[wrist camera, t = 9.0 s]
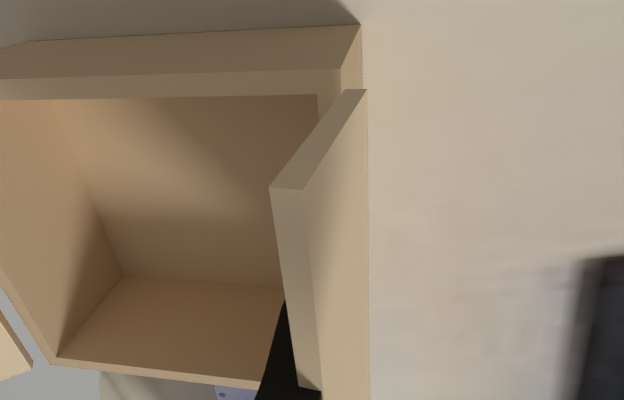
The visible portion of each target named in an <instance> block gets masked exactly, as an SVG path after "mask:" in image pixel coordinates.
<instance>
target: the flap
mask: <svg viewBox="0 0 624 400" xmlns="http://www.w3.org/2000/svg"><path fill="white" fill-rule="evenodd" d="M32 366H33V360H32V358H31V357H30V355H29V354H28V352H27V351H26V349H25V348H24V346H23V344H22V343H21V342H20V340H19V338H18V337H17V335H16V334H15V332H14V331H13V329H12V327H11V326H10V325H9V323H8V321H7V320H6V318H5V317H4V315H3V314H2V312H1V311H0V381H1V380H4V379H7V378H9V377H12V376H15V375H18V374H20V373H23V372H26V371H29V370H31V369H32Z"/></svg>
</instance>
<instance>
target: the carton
mask: <svg viewBox="0 0 624 400" xmlns="http://www.w3.org/2000/svg"><path fill="white" fill-rule="evenodd" d="M345 89H362V44H361V24H355V25H335V26H316V27H297V28H277V29H258V30H239V31H220V32H200V33H181V34H162V35H142V36H123V37H104V38H84V39H65V40H46V41H27V42H22V43H18V44H15V45H11V46H8V47H4V48H0V286H1V287H2V289H3V290H4V292H5V294H6V295H7V297H8V298H9V300H10V302H11V303H12V305H13V306H14V308H15V309H16V311H17V313H18V314H19V316H20V318H21V319H22V320H23V323H24V324H25V326H26V327H27V329H28V331H29V332H30V334H31V335H32V337H33V339H34V340H35V342H36V343H37V345H38V346H39V348H40V350H41V351H42V353H43V354H44V356H45V358H46V359H47V361H48V363H49V364H50V365H57V366H64V367H72V368H80V369H89V370H97V371H105V372H113V373H121V374H129V375H137V376H146V377H154V378H162V379H170V380H178V381H186V382H194V383H203V384H211V385H219V386H227V387H235V388H243V389H252V390H258V389H259V386H260V383H261V380H262V377H263V374H264V371H265V367H266V364H267V360H268V356H269V352H270V348H271V344H272V341H273V337H274V333H275V329H276V325H277V322H278V318H279V314H280V311H281V307H282V305H283V303H284V300H285V292H284V286H283V279H282V273H281V266H280V259H279V253H278V246H277V239H276V233H275V226H274V219H273V213H272V206H271V200H270V193H269V186H270V185H271V184H272V182H273V181H274V180H275V178H276V177H277V176H278V175H279V173H280V172H281V171H282V169H283V168H284V167H285V166H286V164H287V163H288V162H289V160H290V159H291V158H292V157H293V155H294V154H295V153H296V151H297V150H298V149H299V148H300V146H301V145H302V144H303V142H304V141H305V140H306V139H307V137H308V136H309V135H310V133H311V132H312V131H313V130H314V128H315V127H316V126H317V125H318V123H319V122H320V121H321V119H322V118H323V117H324V116H325V114H326V113H327V112H328V110H329V109H330V108H331V107H332V105H333V104H334V103H335V101H336V100H337V99H338V98H339V96H340V95H341V94H342V92H343V91H344V90H345Z"/></svg>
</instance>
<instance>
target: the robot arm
mask: <svg viewBox="0 0 624 400" xmlns="http://www.w3.org/2000/svg"><path fill="white" fill-rule="evenodd" d="M214 390H215V393H216V396H217V399H218V400H322V392H321V391H317V390H313V389H308V388H304V387H300V386H299V385H298V379H297V372H296V365H295V359H294V352H293V345H292V339H291V332H290V326H289V319H288V312H287V306H286V299H285V300H284V303H283V305H282V307H281V311H280V314H279V318H278V322H277V325H276V329H275V333H274V337H273V341H272V344H271V348H270V352H269V356H268V360H267V364H266V367H265V371H264V374H263V377H262V380H261V383H260V386H259V389H258V390H252V389H243V388H235V387H227V386H219V385H215V386H214Z"/></svg>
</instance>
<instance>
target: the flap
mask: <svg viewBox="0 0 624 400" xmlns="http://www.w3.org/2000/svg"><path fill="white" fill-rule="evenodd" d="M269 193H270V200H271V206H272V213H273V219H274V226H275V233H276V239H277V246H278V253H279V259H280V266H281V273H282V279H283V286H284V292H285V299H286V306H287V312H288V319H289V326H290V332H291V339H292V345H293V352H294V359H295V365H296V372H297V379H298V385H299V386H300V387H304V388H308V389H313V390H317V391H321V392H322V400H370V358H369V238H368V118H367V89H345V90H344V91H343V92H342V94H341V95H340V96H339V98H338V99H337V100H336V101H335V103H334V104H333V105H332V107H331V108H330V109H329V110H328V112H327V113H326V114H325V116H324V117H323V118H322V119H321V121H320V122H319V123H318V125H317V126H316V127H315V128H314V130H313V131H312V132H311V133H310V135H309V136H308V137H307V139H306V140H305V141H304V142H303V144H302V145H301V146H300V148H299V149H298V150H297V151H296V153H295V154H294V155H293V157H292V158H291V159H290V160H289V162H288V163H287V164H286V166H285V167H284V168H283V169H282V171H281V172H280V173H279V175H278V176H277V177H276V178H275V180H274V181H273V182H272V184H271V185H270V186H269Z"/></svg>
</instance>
